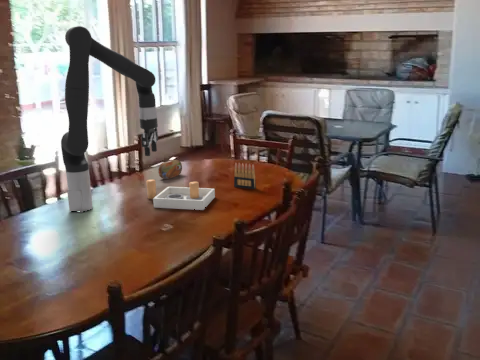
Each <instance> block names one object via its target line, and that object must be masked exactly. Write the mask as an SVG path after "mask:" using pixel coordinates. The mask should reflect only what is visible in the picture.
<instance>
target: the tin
mask: <svg viewBox="0 0 480 360" xmlns="http://www.w3.org/2000/svg"><path fill="white" fill-rule="evenodd" d="M182 170H183V165H182V162H181V161H180V160H178V159H172V160H169V161H165V162H162V163H161V164H160V165H159V167H158V176H159V177H160V178H161V179H163V180H171V179H173V178H175V177H179V175H181V174H182Z"/></svg>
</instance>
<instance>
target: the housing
mask: <svg viewBox="0 0 480 360" xmlns="http://www.w3.org/2000/svg"><path fill="white" fill-rule="evenodd" d="M188 184H189V187H185V186H167V187H165V188H164V189H163V190H162V191H161V192H159V193H158V194H156V197H154V198H153V199H152V201H153V208H156V209H157V208H161V209H179V210H194V209H195V210H196V211H199V210H200V211H204V210H205V209H206V208H207V207H208V205H209V204H210V203H211V202H212V201H213V200H214V199H215V198H216V196H215V195H216V192H215V188H207V187H200V185H199V181H190V182H189V183H188ZM205 207H206V208H205ZM195 210H194V211H195Z"/></svg>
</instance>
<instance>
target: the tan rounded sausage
mask: <svg viewBox="0 0 480 360" xmlns="http://www.w3.org/2000/svg"><path fill="white" fill-rule="evenodd" d="M145 183H146V193H147V199H148V200H153V198H154V197H156V196H157V184H156V183H157V182H156V179H147V180H146V182H145Z"/></svg>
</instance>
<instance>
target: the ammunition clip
mask: <svg viewBox="0 0 480 360" xmlns="http://www.w3.org/2000/svg"><path fill="white" fill-rule="evenodd" d="M256 181H257V180H256V170H255V164H254V163H252V165H251V163H247V162H246V163H245V165H244V163H243V162H242V164H241V163H240V162H238V163H237V162H235V164H234V180H233V186H234V188H239V189H240V188H241V189H249V190H255V189H256V188H257V182H256Z"/></svg>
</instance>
